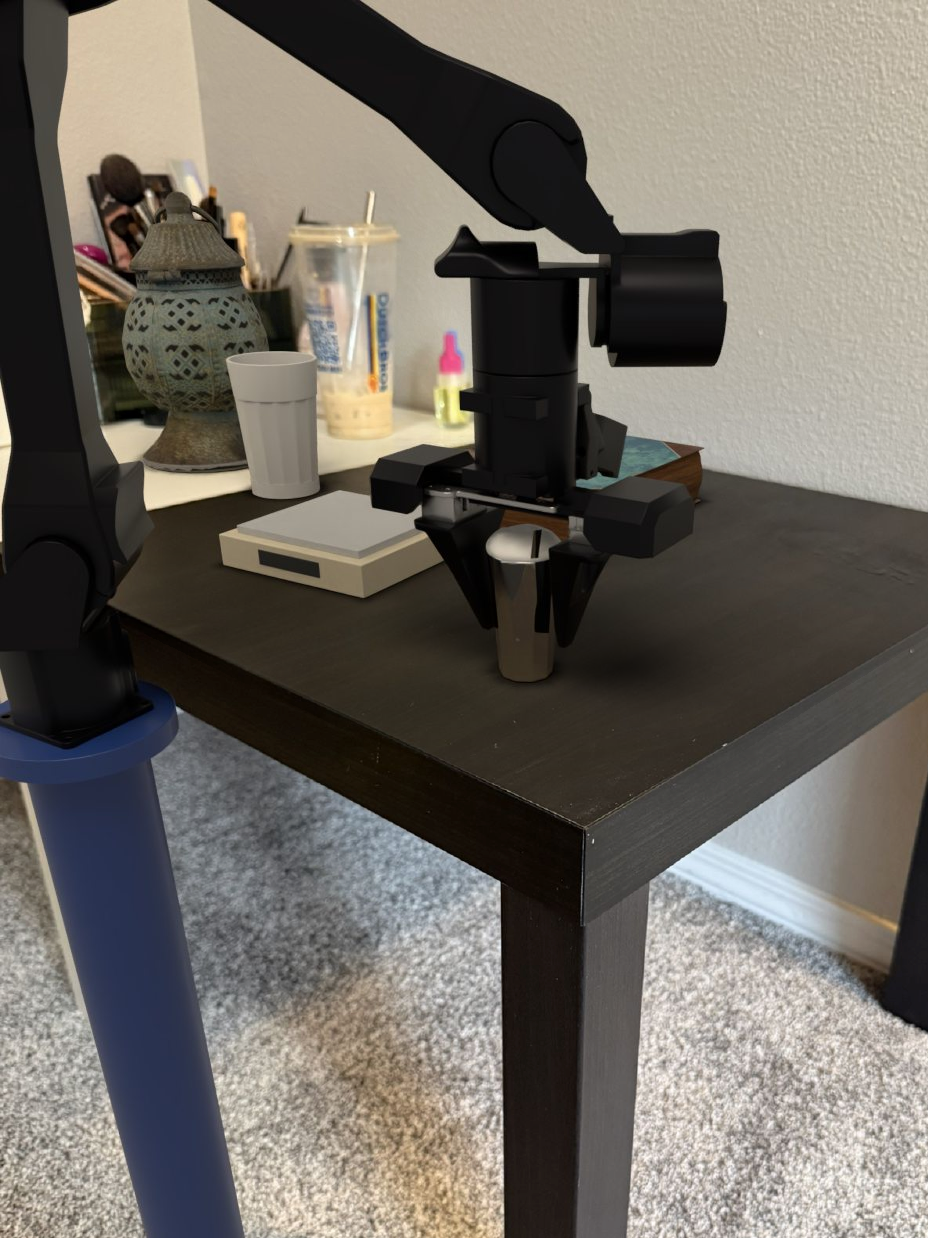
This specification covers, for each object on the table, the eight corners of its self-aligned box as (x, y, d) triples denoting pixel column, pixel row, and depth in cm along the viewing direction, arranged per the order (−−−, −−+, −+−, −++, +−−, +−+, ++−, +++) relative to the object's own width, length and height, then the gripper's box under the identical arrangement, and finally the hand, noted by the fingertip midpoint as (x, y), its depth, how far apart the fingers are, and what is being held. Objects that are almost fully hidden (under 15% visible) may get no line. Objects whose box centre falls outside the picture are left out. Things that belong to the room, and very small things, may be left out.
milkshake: (501, 696, 64) (497, 532, 59) (482, 660, 69) (478, 505, 64) (574, 688, 65) (577, 526, 61) (551, 653, 70) (552, 500, 65)
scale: (363, 599, 78) (360, 557, 77) (222, 565, 84) (216, 526, 83) (473, 547, 89) (472, 510, 87) (341, 520, 95) (337, 485, 94)
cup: (338, 480, 107) (327, 352, 101) (314, 502, 100) (300, 366, 94) (260, 477, 107) (244, 350, 102) (230, 499, 100) (212, 363, 95)
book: (549, 473, 110) (550, 422, 108) (703, 501, 102) (707, 447, 99) (398, 526, 94) (395, 468, 91) (567, 565, 85) (568, 503, 83)
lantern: (114, 457, 114) (64, 190, 102) (225, 434, 124) (192, 188, 112) (196, 479, 106) (153, 193, 95) (308, 453, 116) (281, 191, 105)
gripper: (743, 363, 60) (721, 624, 68) (467, 336, 69) (474, 572, 76) (656, 395, 52) (641, 689, 59) (353, 359, 60) (373, 622, 68)
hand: (526, 636), depth 66 cm, fingers open, 5 cm apart
